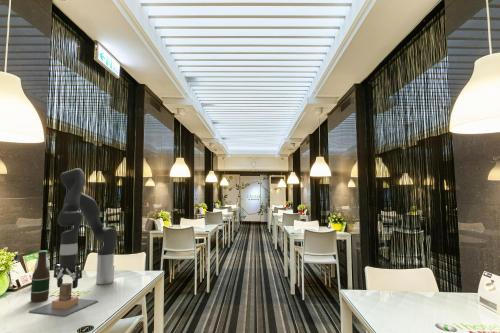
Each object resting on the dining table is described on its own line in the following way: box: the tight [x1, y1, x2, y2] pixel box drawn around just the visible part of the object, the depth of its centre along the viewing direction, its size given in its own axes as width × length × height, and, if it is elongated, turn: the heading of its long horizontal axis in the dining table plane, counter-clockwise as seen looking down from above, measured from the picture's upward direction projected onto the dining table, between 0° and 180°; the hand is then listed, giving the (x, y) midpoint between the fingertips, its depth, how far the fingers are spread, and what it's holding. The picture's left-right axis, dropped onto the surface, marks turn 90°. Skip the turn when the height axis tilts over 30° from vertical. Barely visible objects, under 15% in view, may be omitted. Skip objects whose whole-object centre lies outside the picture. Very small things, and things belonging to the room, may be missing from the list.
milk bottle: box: [33, 249, 51, 272], centre depth 186 cm, size 8×8×20 cm
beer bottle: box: [30, 250, 51, 303], centre depth 159 cm, size 8×8×24 cm
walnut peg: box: [58, 282, 73, 301], centre depth 148 cm, size 4×4×10 cm
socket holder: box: [28, 296, 99, 317], centre depth 148 cm, size 20×20×4 cm
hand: (67, 287), depth 149 cm, fingers open, 8 cm apart
